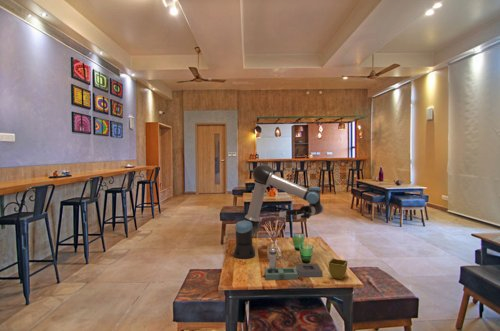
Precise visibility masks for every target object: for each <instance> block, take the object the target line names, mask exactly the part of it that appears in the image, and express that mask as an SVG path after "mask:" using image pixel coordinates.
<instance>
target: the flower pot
mask: <svg viewBox="0 0 500 331" xmlns="http://www.w3.org/2000/svg"><path fill="white" fill-rule="evenodd" d="M327 265H328V271H329V274H330V276H331V278H333V279H336V280H342V279H343V278H344V277H345V275H346V273H347V269H348V260H344V259H337V258H331V259H330V260H329V262H328V263H327Z"/></svg>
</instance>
